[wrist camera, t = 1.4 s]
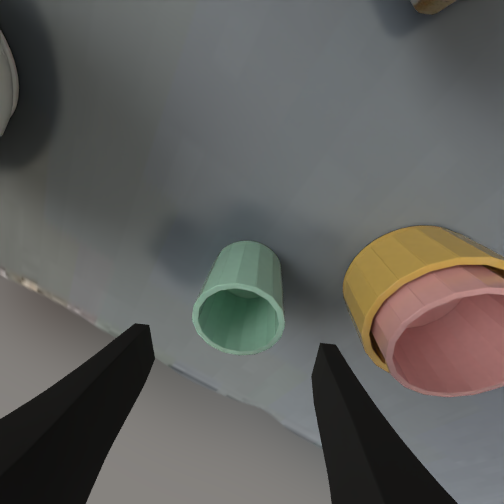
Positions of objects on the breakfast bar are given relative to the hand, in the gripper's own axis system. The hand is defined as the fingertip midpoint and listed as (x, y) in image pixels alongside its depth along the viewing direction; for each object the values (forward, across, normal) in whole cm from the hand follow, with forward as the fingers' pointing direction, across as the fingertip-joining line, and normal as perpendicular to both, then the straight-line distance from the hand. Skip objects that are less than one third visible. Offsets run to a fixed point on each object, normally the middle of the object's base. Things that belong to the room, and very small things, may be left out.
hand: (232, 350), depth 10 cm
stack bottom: (+8, -12, +1) cm, 14 cm away
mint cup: (+8, 0, +1) cm, 8 cm away
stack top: (+8, -12, +1) cm, 14 cm away
